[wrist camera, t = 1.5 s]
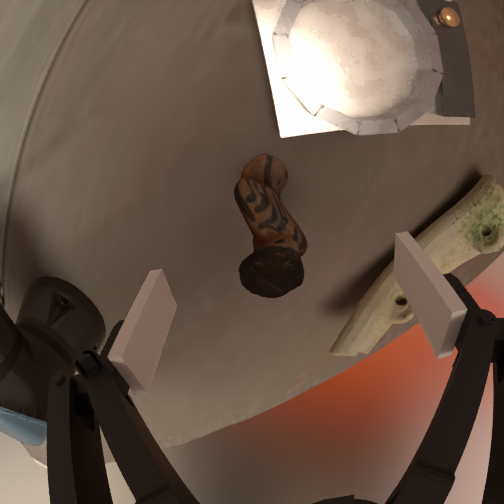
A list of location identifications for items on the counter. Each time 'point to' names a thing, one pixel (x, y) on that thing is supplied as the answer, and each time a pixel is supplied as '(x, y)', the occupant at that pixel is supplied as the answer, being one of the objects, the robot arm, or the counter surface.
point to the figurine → (269, 231)
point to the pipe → (442, 255)
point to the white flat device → (365, 64)
